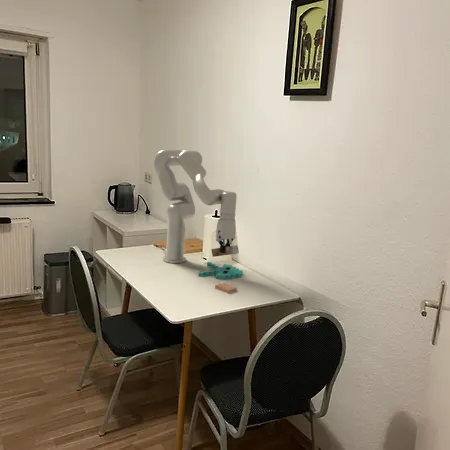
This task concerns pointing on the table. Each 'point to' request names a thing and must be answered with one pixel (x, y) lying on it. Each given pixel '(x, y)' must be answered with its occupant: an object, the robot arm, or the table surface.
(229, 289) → the tile
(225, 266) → the alien figure
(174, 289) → the table surface
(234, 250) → the brown flat bar
